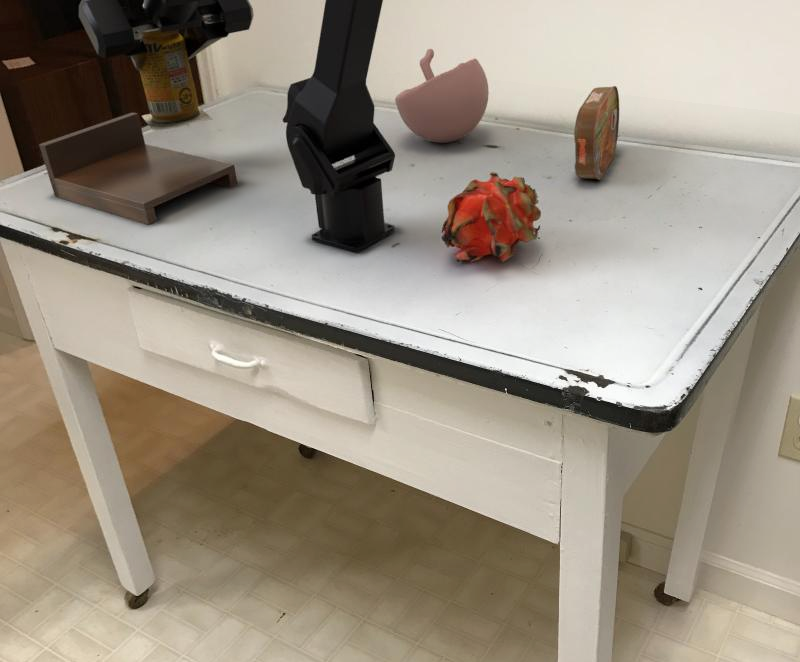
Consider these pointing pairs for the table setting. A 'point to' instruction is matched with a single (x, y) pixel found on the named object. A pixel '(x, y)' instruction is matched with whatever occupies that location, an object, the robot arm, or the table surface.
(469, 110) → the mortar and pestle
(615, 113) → the tin
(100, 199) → the shelf
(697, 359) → the table surface
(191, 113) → the condiment
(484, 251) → the dragon fruit
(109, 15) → the robot arm
